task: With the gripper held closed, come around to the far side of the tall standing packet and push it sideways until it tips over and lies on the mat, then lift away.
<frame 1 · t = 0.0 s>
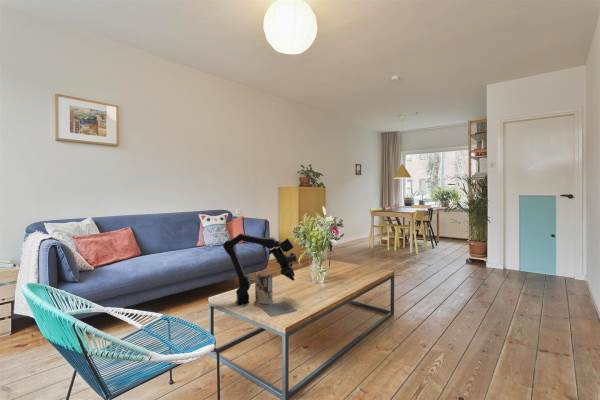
hand: (294, 278, 182), 15 cm above the table, tool tilted 35°, fingers open, 9 cm apart
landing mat: (278, 308, 173), on the table
coffee box: (264, 301, 184), on the table
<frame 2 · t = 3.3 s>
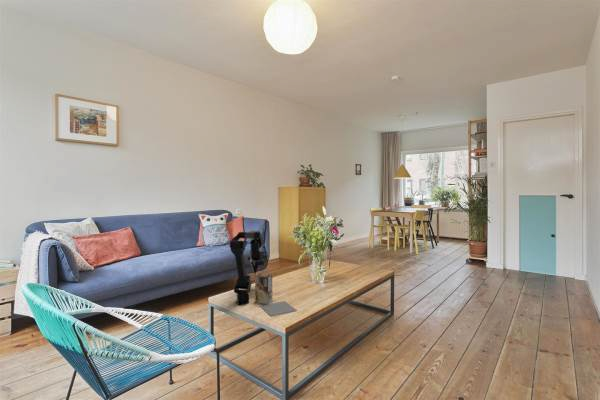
hand: (255, 273, 201), 13 cm above the table, tool pointing down, fingers closed
nothing on the table moved.
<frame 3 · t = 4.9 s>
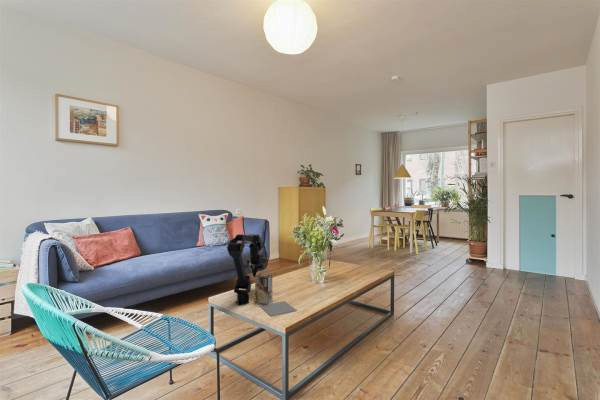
hand: (254, 276, 199), 11 cm above the table, tool pointing down, fingers closed
nothing on the table moved.
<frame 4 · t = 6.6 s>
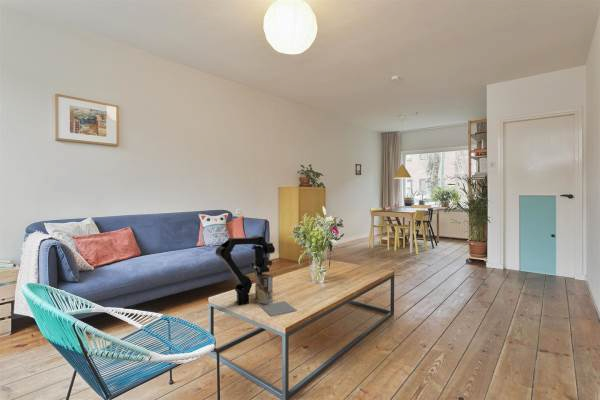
hand: (259, 280, 191), 11 cm above the table, tool pointing down, fingers closed
coffee box: (264, 301, 184), on the table, touching gripper
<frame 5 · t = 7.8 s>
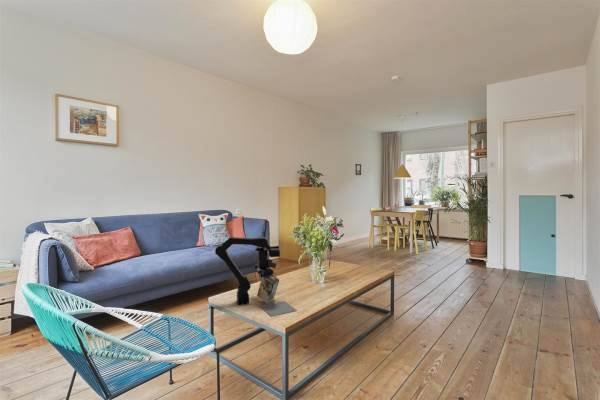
hand: (263, 282, 185), 11 cm above the table, tool pointing down, fingers closed
coffee box: (265, 297, 184), point 3 cm above the table
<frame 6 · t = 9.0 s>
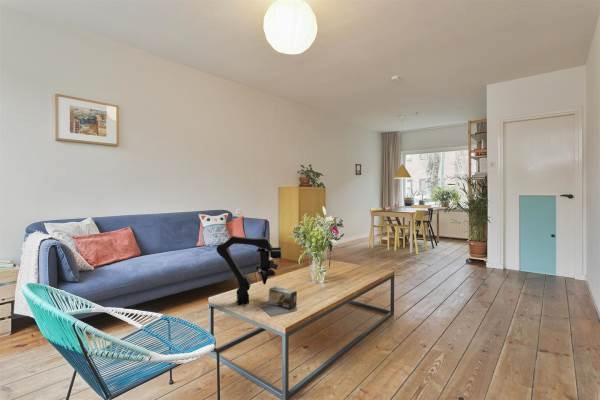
hand: (264, 284, 183), 11 cm above the table, tool pointing down, fingers closed
coffee box: (271, 294, 182), point 5 cm above the table, touching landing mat
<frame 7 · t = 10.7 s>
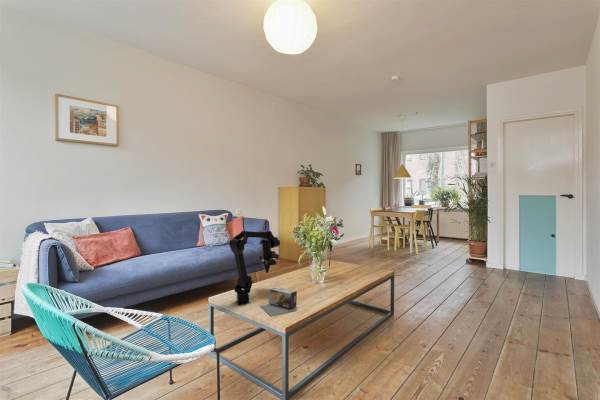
hand: (267, 272, 199), 13 cm above the table, tool pointing down, fingers closed
nothing on the table moved.
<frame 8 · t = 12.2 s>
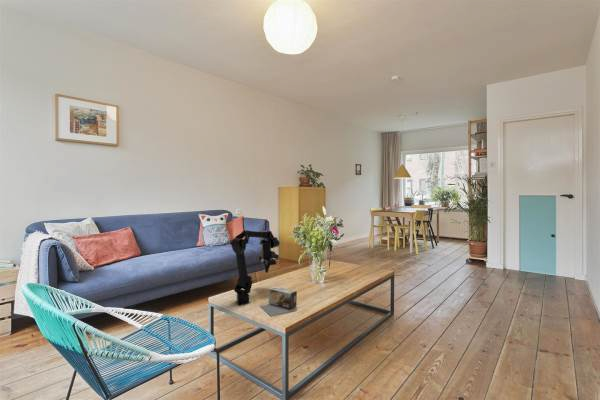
hand: (266, 272, 201), 13 cm above the table, tool pointing down, fingers closed
nothing on the table moved.
at the end: coffee box tilted 91°; coffee box touching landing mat; coffee box inside the target area (4.0 cm from its centre), point 4.9 cm above the table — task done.
